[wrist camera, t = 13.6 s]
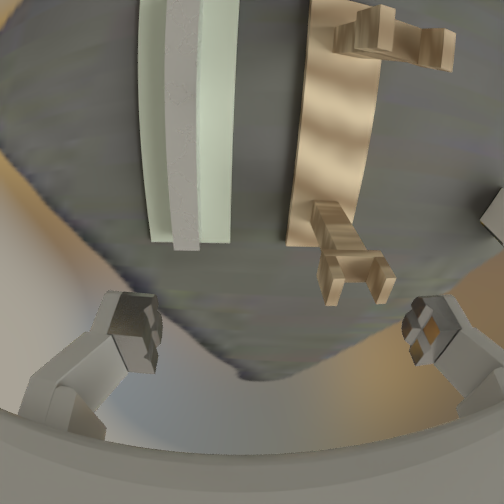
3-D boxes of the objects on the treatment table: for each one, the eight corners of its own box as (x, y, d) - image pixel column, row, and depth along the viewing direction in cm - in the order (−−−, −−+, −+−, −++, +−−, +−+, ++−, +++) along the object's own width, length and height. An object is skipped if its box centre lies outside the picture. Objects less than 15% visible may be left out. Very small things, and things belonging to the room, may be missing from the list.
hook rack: (310, -5, 22) (365, -47, 10) (381, 11, 23) (468, -3, 10) (285, 241, 39) (306, 333, 27) (343, 243, 40) (383, 328, 28)
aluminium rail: (173, -2, 21) (167, -8, 19) (204, -4, 21) (200, -10, 19) (178, 236, 37) (174, 250, 35) (201, 236, 38) (199, 250, 35)
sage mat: (142, -6, 21) (140, -7, 20) (240, -12, 22) (240, -13, 21) (152, 239, 38) (151, 241, 38) (230, 240, 39) (230, 243, 38)
